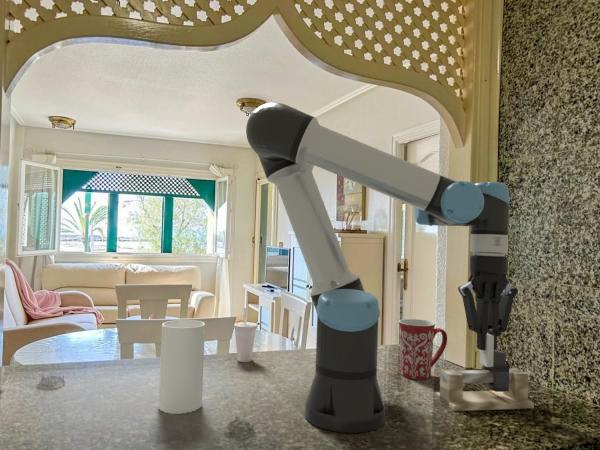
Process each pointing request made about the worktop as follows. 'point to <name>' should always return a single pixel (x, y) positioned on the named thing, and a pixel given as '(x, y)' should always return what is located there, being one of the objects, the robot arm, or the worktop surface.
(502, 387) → the dark grey sliding collar
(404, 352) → the mug
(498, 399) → the rail
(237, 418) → the worktop surface
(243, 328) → the smoothie
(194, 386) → the cup
